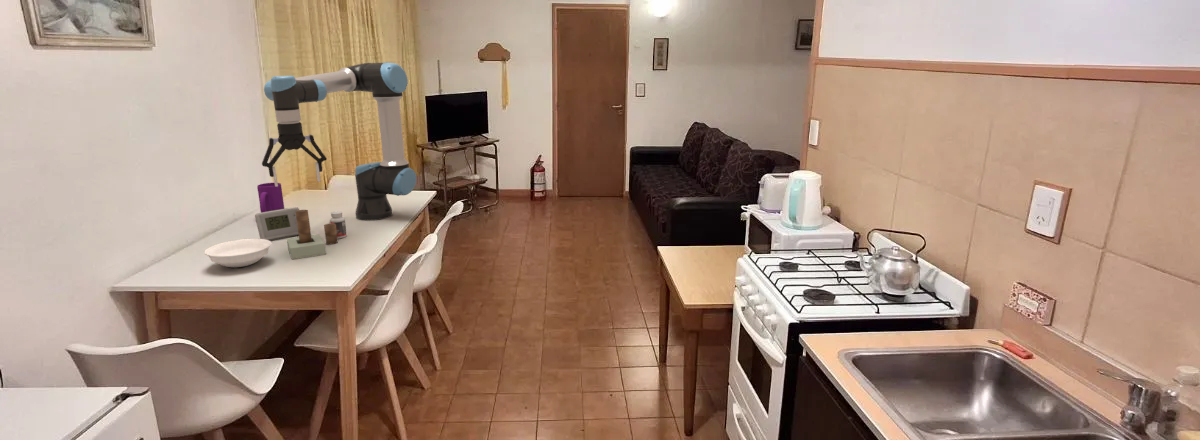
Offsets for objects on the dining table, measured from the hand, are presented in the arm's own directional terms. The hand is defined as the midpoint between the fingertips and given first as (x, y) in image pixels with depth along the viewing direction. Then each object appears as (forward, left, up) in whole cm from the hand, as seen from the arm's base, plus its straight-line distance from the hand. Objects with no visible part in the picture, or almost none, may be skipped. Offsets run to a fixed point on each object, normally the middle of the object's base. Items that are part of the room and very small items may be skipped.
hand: (298, 183), depth 222 cm
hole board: (0, 0, -25) cm, 25 cm away
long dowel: (0, 0, -25) cm, 25 cm away
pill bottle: (-13, -14, -25) cm, 31 cm away
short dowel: (-9, -7, -25) cm, 27 cm away
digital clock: (+6, -26, -25) cm, 36 cm away
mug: (+8, -56, -25) cm, 62 cm away
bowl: (+21, +4, -25) cm, 33 cm away
